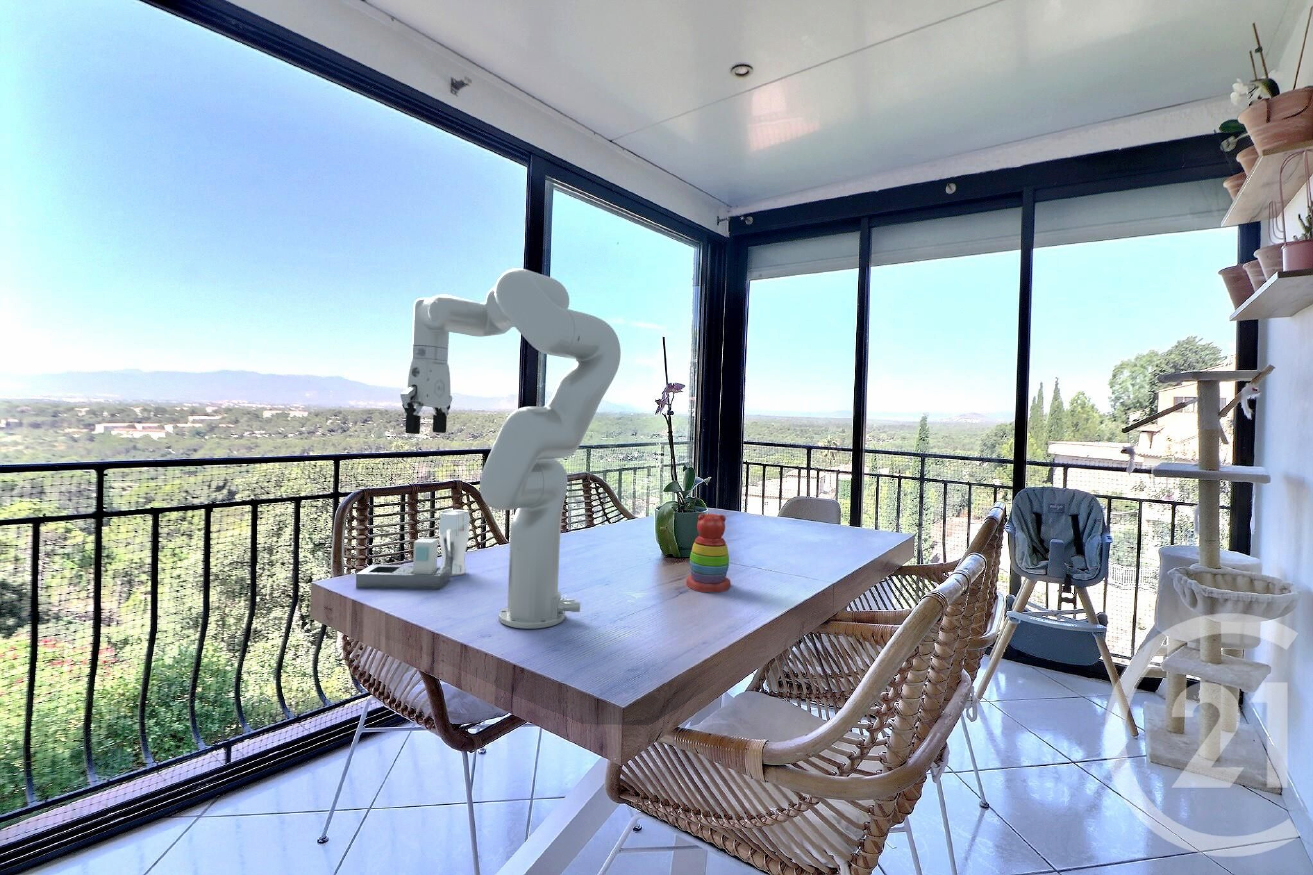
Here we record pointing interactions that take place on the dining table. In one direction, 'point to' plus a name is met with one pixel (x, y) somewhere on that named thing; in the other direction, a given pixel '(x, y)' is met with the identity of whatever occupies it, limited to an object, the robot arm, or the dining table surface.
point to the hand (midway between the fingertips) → (426, 433)
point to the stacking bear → (709, 556)
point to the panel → (401, 577)
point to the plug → (425, 556)
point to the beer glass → (454, 540)
